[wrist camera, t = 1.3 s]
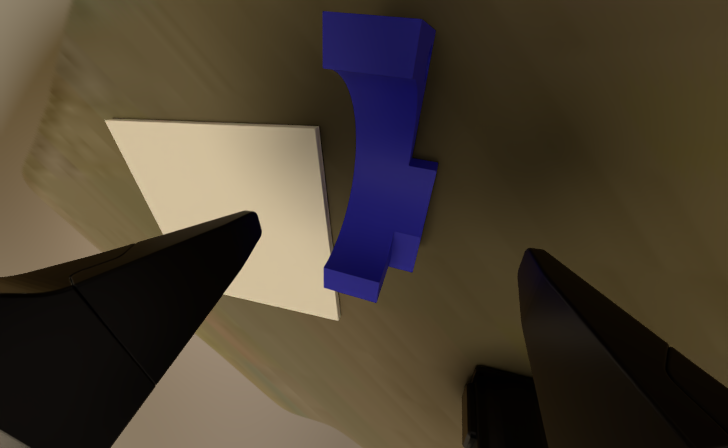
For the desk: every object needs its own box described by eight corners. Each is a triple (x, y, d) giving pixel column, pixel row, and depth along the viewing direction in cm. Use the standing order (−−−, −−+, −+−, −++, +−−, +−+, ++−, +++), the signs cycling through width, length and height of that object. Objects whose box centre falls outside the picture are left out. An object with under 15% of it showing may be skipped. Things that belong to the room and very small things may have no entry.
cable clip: (418, 243, 19) (404, 311, 14) (356, 229, 20) (323, 287, 15) (469, 34, 12) (477, 23, 7) (373, 25, 13) (322, 11, 8)
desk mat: (319, 126, 16) (314, 128, 16) (340, 315, 25) (338, 320, 25) (112, 118, 21) (104, 120, 20) (194, 282, 30) (190, 286, 29)
